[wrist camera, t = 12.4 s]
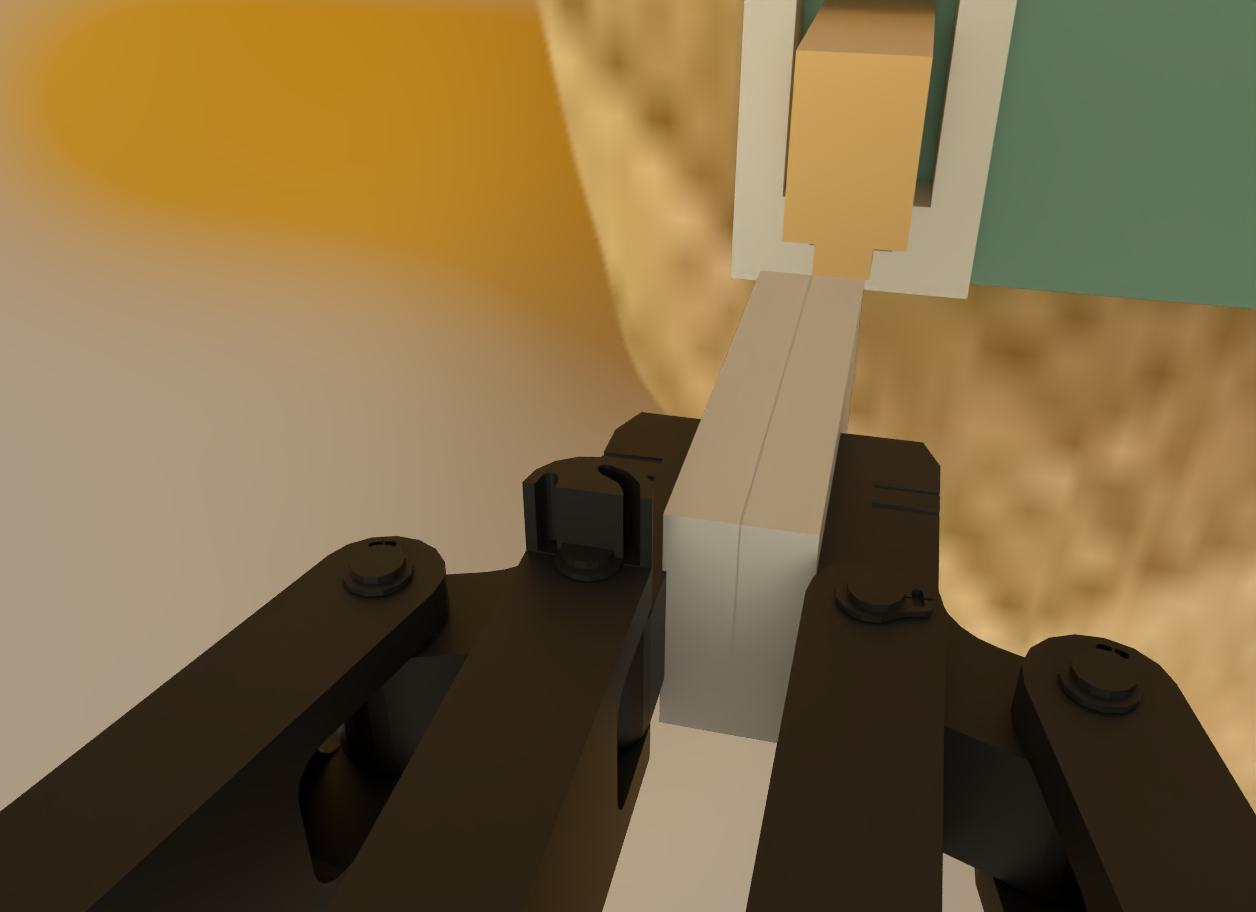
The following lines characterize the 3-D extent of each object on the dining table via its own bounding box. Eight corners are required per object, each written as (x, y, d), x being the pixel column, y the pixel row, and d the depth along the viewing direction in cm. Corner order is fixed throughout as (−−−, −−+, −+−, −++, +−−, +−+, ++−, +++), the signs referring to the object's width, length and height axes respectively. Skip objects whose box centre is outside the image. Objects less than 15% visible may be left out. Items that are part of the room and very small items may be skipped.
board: (1641, -148, 27) (1726, -140, 24) (1451, 313, 33) (1500, 364, 30) (770, -155, 31) (752, -150, 28) (747, 253, 37) (730, 293, 34)
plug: (935, 0, 31) (932, 56, 24) (911, 186, 34) (902, 283, 27) (827, -5, 32) (796, 50, 25) (811, 179, 34) (779, 271, 28)
